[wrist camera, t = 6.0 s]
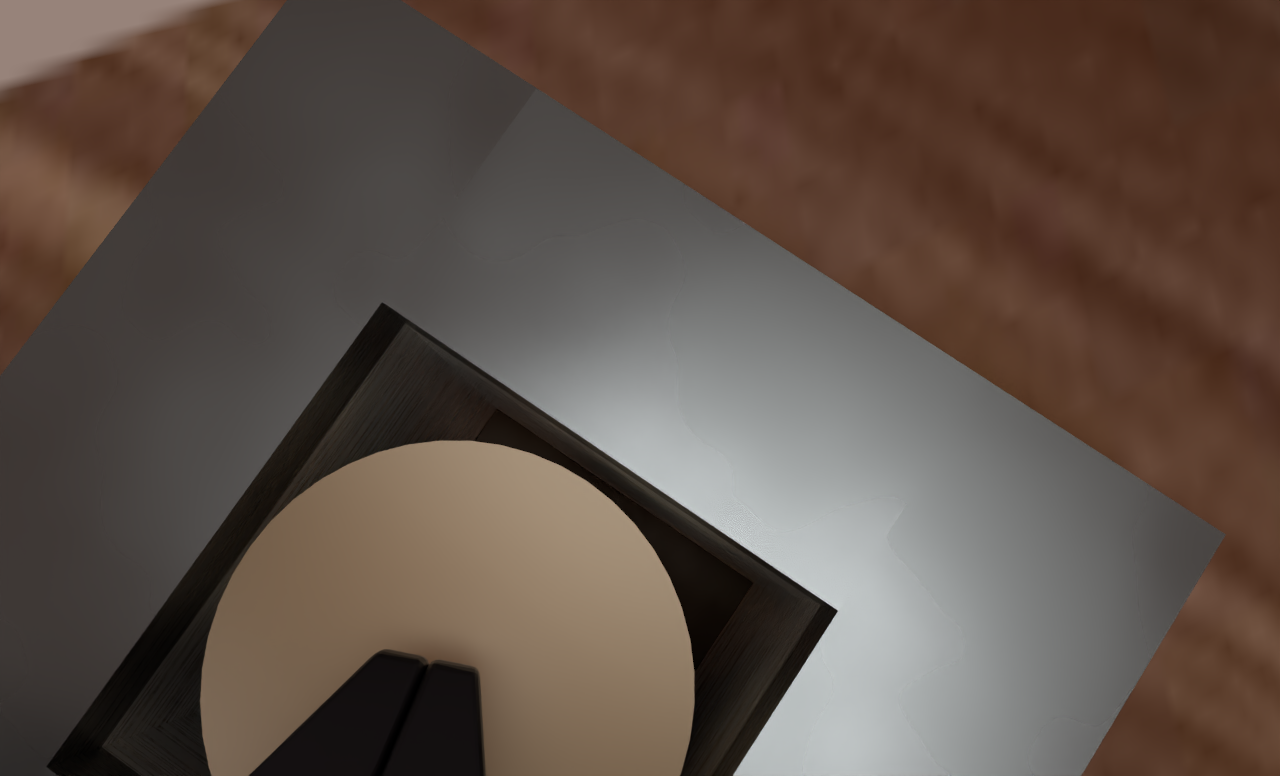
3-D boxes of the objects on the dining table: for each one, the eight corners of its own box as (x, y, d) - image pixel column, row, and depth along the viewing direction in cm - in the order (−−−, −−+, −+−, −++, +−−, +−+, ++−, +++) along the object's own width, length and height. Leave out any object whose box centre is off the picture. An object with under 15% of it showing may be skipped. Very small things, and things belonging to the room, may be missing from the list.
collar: (617, 1097, 17) (593, 1590, 9) (93, 712, 18) (-360, 847, 10) (969, 540, 18) (1225, 534, 10) (461, 203, 19) (325, -50, 11)
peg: (568, 832, 17) (508, 1055, 10) (335, 666, 17) (100, 755, 10) (729, 588, 17) (790, 619, 10) (498, 431, 18) (391, 349, 10)
